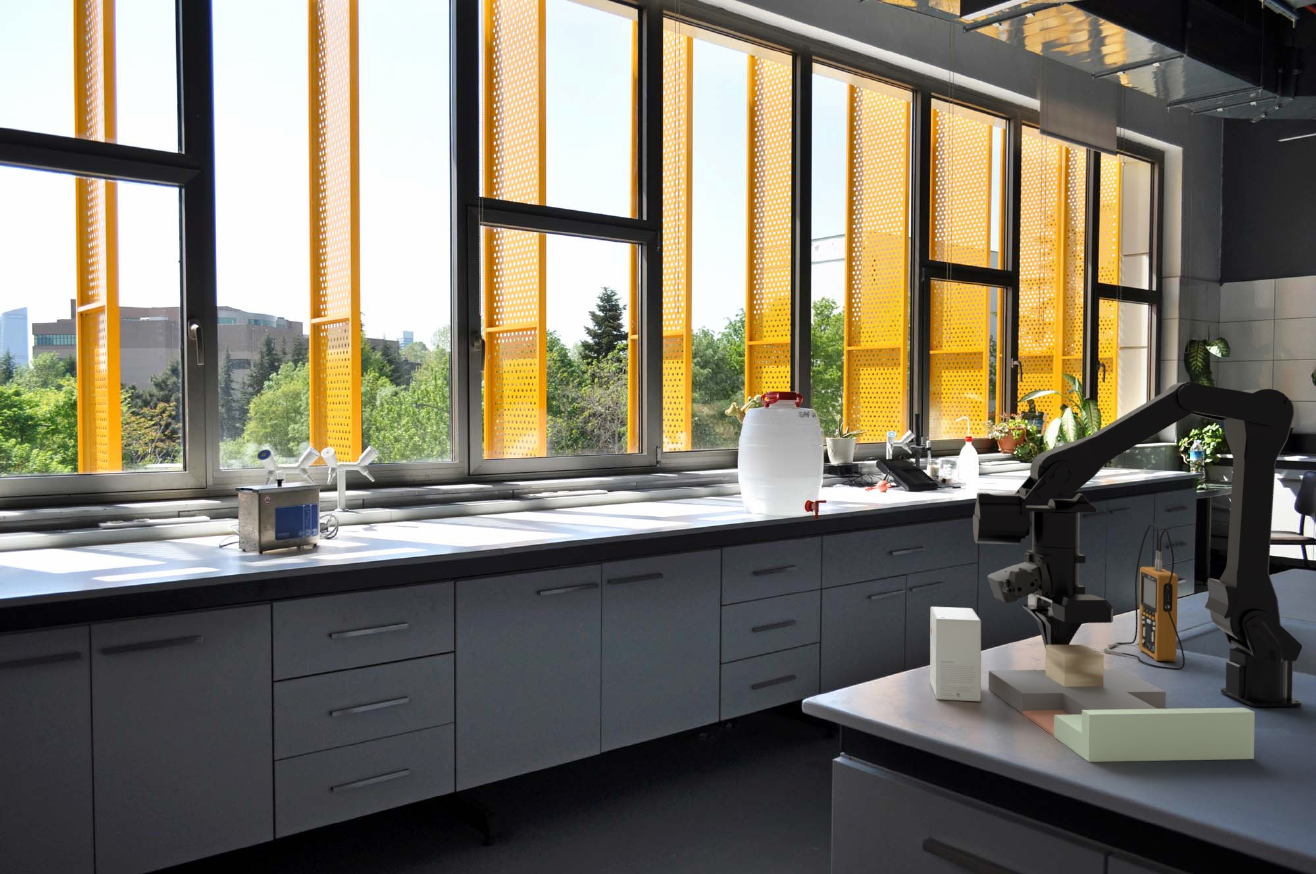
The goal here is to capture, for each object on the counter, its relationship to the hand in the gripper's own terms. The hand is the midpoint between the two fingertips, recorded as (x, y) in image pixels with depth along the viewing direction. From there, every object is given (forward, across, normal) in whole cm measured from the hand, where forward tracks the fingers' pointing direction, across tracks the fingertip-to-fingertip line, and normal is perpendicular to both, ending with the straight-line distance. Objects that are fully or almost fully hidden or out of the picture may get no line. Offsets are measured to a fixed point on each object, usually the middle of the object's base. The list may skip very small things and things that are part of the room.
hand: (1054, 661), depth 123 cm
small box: (+4, +1, -14) cm, 15 cm away
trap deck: (+4, +12, 0) cm, 13 cm away
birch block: (+1, +5, 0) cm, 5 cm away
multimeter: (+4, -16, +20) cm, 26 cm away
